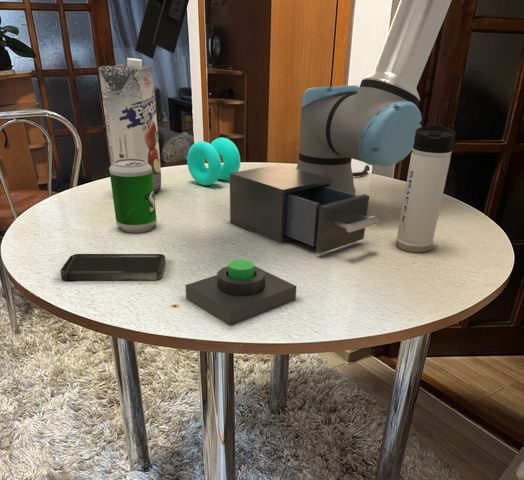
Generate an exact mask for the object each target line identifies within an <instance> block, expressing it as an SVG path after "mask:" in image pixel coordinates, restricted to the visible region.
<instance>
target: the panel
mask: <svg viewBox="0 0 524 480" xmlns="http://www.w3.org/2000/svg"><path fill="white" fill-rule="evenodd" d="M185 299H186V300H187V301H189V302H190V303H192V304H194V305H196V306H197V307H199V308H200V309H202V310H203V311H205V312H206V313H209V314H210V315H211V316H213V317H215V318H217V319H218V320H220V321H221V322H223V323H225V324H226V325H228V326H233V325H236V324H238V323H241V322H243V321H246V320H248V319H251V318H253V317H256V316H258V315H260V314H261V315H262V314H264V313H266V312H268V311H271V310H273V309H277V308H278V307H280V306H284V305H287V304H288V303H291V302H293V301H296V299H297V285H295V284H293V283H291V282H289V281H287V280H284V279H283V278H280V277H279V276H276V275H274V274H272V273H270V272H268V271H266V270H264V269H262V268H260V267H258V266H256V265H254V278H251V279H248V280H236V279H231V278H229V277H228V265H227V266H224V267H221V268H220V269H219V270H218V271H217V272H216V275H212V276H210V277H205V278H203V279H200V280H196V281H193V282H190V283H188V284H185Z"/></svg>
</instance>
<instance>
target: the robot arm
mask: <svg viewBox="0 0 524 480" xmlns="http://www.w3.org/2000/svg"><path fill="white" fill-rule="evenodd" d="M452 1H453V0H399V2H398V6H397V9H396V11H395V14H394V16H393V19H392V21H391V25H390V27H389V30H388V33H387V35H386V37H385V40H384V43H383V45H382V48H381V51H380V53H379V56H378V59H377V61H376V64H375V67H374V69H373V72H372V73H370V74H368V75H367V76H364V77H363V78H362V79H361V82H360V84H359V86H358V85H355V84H353V85H332V86H318V87H308V88H307V89H305V91H304V92H303V94H302V100H301V107H300V121H299V122H300V123H299V141H298V142H299V143H298V158H297V159H298V161H297V165H296V168H295V169H297V170H301V171H304V172H308V173H312V174H315V175H319V176H323V177H326V178H330V179H332V188H335V189H338V190H342V191H345V192H349V193H352V194H355V197H356V196H357V193H356V192H357V191H356V187H355V182H354V177H361V176H364V175H365V174H367V172H370V166H379V167H384V168H385V167H391V166H395V165H397V164H398V163H399V162H402V161H403V160H405V158H407V156H408V155H409V154H410V153H412V152H413V151H412V148H413V144H414V138H415V133H416V130H417V129H418V128H420V127H422V124H421V122H422V120H423V119H422V118H423V117H422V113H421V111H420V109H419V107H418V106H419V103H420V101H421V97H420V94H419V92H418V90H417V87H418V85H419V82H420V80H421V77H422V74H423V72H424V70H425V67H426V64H427V62H428V60H429V57H430V55H431V54H432V53H431V52H432V51H433V47H434V45H435V43H436V40H437V38H438V35H439V32H440V30H441V29H442V28H441V27H442V26H443V23H444V20H445V17H446V15H447V13H448V10H449V8H450V5H451V3H452ZM189 2H190V0H146V5H145V9H144V12H143V16H142V20H141V24H140V27H139V31H138V35H137V39H136V42H135V47H134V52H136V53H139V54H141V55H143V56H145V57H147V58H149V59H152V60H153V59H154V57H155V53H156V50H157V47H159V48H161V49H162V50H165V51H167V52H169V53H171V54H175V52H176V49H177V44H178V41H179V38H180V33H181V31H182V27H183V24H184V20H185V16H186V12H187V10H188V9H187V8H188V6H189ZM411 151H412V152H411ZM352 160H355V161H358V162H362V163H365V166H364V169H363V170H362V171H357V172H353V169H352Z"/></svg>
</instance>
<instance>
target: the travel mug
mask: <svg viewBox="0 0 524 480" xmlns="http://www.w3.org/2000/svg"><path fill="white" fill-rule="evenodd" d="M455 137H456V131H455V130H453V129H452V128H449V127H445V126H443V124H434V123H432V124H431V125H428V126H421V127H420V128H418V129H417V130H416V133H415V138H414V144H413V148H412V152H411V154H410V158H409V159H410V160H409V165H408V171H407V176H406V183H405V189H404V195H403V199H402V204H401V205H402V206H401V210H400V211H401V212H400V218H399V223H398V230H397V235H396V241H395V245H396V247H397V248H399V250H400V249H401V250H402V251H405V252H409V253H410V252H411V253H426V252H429V251H430V250H432V246H433V243H434V241H433V240H434V237H435V232H436V230H437V229H436V228H437V224H438V219H439V214H440V210H441V205H442V200H443V196H444V191H445V186H446V181H447V177H448V172H449V168H450V164H451V157H452V153H453V146H454V141H455Z"/></svg>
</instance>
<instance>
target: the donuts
mask: <svg viewBox="0 0 524 480" xmlns="http://www.w3.org/2000/svg"><path fill="white" fill-rule="evenodd" d="M221 157H222V160H223V164H222V160H221ZM186 160H187V161H186V163H187V169H188V172H189V174H190V175H191V177H192V179H193V180H194V181H195V182H196V183H198V184H199V185H202V186H212V185H214V184H215V183H216V182H217V181H218V180H219V179H220V180H222V181H230V173H233V172H239V171H240V169H241V155H240V152H239V149H238V147H237V145H236V144H235V143H234V142H233V141H232V140H230V139H229V138H227V137H217V138H215V139H214V140H212V141H211V142H207V141H204V140H201V141H200V140H199V141H196V142H195V143H193V144H192V145H191V147H190V148H189V150H188V152H187V156H186ZM205 160H206V162H207V166H206V164H205Z"/></svg>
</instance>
